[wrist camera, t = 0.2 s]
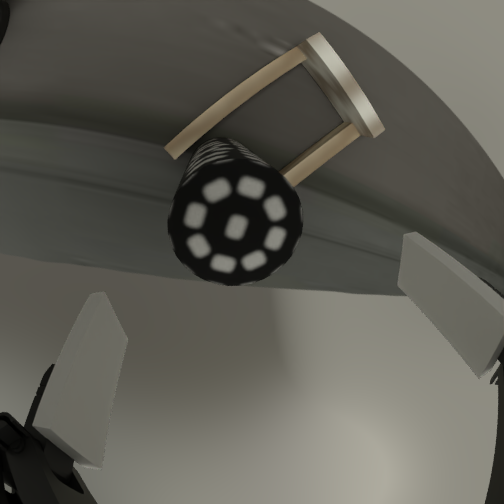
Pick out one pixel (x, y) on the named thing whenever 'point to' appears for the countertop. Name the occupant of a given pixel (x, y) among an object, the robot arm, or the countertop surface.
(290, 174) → the guide channel
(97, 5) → the countertop surface
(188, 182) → the white-spotted black cylinder
